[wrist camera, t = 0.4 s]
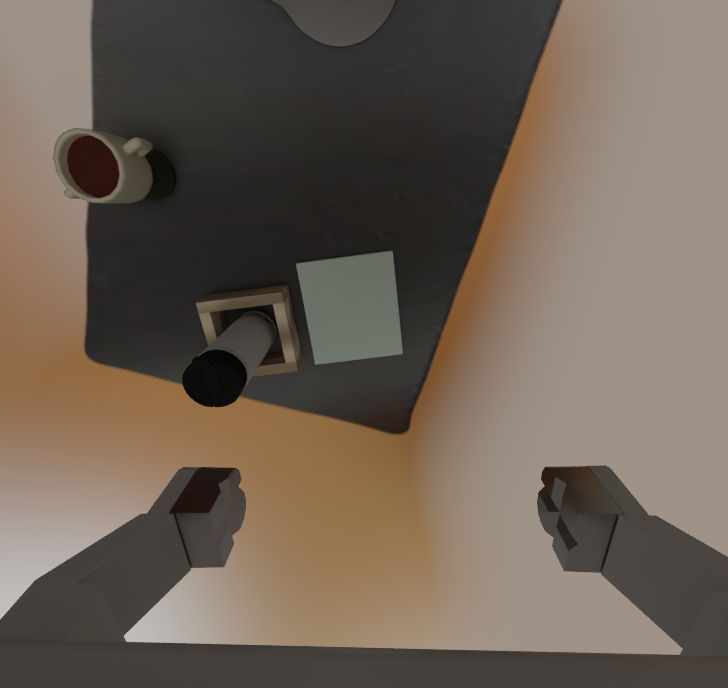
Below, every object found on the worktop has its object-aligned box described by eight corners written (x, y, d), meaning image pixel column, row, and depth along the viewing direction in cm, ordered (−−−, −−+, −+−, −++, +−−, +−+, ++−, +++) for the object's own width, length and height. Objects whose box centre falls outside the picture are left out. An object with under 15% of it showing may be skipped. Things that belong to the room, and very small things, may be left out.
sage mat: (297, 262, 55) (296, 263, 54) (392, 250, 54) (392, 250, 53) (316, 362, 61) (315, 364, 60) (402, 351, 60) (402, 353, 59)
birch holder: (209, 294, 57) (195, 303, 52) (287, 284, 56) (281, 292, 51) (229, 366, 61) (218, 380, 56) (302, 357, 60) (297, 371, 56)
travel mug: (272, 303, 57) (228, 353, 38) (282, 343, 59) (246, 408, 41) (232, 310, 57) (169, 362, 39) (243, 349, 60) (190, 417, 41)
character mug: (166, 125, 49) (102, 100, 36) (202, 177, 51) (152, 169, 39) (104, 172, 51) (23, 163, 38) (141, 220, 53) (75, 226, 41)
